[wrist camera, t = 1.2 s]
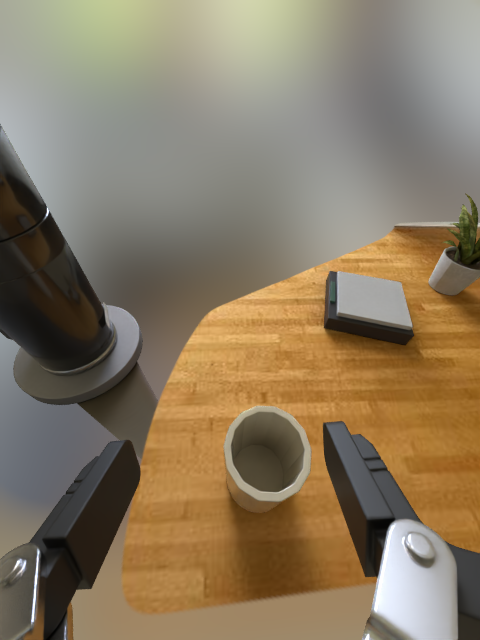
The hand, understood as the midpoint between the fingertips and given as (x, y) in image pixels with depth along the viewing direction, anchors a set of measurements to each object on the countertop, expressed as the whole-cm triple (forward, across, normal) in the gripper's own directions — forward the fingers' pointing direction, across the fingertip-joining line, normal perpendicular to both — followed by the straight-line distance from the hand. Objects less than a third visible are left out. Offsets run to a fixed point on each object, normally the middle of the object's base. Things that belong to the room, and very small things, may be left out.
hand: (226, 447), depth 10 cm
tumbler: (+11, 0, +15) cm, 18 cm away
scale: (+32, -20, +5) cm, 38 cm away
